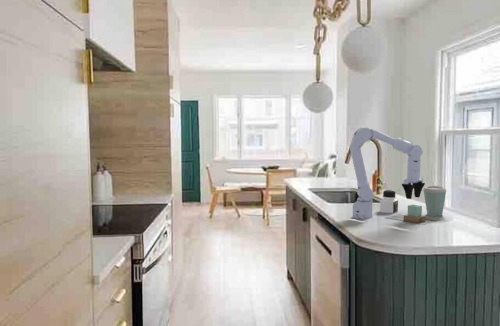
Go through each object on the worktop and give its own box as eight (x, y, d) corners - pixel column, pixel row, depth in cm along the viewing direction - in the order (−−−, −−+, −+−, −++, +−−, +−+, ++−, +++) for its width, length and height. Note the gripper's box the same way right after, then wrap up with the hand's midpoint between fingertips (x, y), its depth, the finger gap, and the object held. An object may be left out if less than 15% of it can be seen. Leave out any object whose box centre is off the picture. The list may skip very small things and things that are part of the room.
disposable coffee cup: (447, 219, 201) (448, 188, 200) (422, 217, 205) (423, 187, 204) (444, 215, 211) (445, 185, 210) (421, 214, 215) (422, 185, 214)
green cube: (416, 216, 189) (416, 207, 189) (407, 215, 193) (407, 205, 192) (421, 215, 192) (421, 205, 192) (412, 214, 196) (412, 204, 195)
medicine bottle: (393, 215, 211) (393, 191, 211) (379, 213, 216) (380, 190, 215) (397, 213, 217) (398, 190, 216) (384, 211, 221) (384, 189, 221)
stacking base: (423, 227, 184) (423, 219, 184) (383, 219, 199) (383, 212, 199) (438, 222, 193) (439, 215, 193) (399, 216, 208) (399, 209, 208)
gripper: (413, 171, 192) (412, 200, 192) (429, 169, 201) (428, 197, 202) (399, 170, 197) (398, 198, 198) (415, 168, 206) (414, 195, 207)
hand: (413, 198), depth 200 cm, fingers open, 7 cm apart
